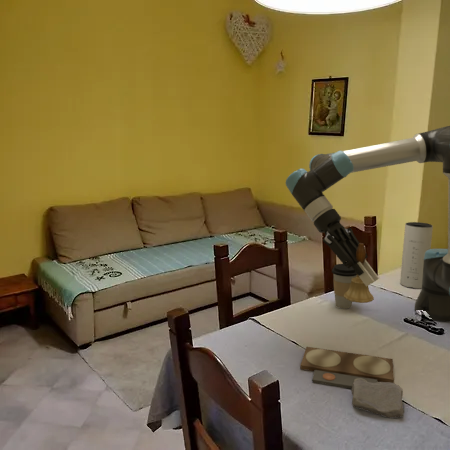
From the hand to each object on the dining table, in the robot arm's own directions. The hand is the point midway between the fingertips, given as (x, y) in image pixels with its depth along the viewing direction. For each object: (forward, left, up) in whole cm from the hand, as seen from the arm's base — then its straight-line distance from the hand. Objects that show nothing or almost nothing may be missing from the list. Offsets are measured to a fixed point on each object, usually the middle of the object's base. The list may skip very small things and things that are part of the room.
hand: (372, 282), depth 124 cm
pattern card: (+5, +16, -23) cm, 28 cm away
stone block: (-3, +23, -23) cm, 33 cm away
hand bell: (+4, -2, -6) cm, 7 cm away
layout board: (+5, +7, -23) cm, 24 cm away
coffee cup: (+9, -36, -23) cm, 44 cm away
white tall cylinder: (-17, -67, -23) cm, 73 cm away
